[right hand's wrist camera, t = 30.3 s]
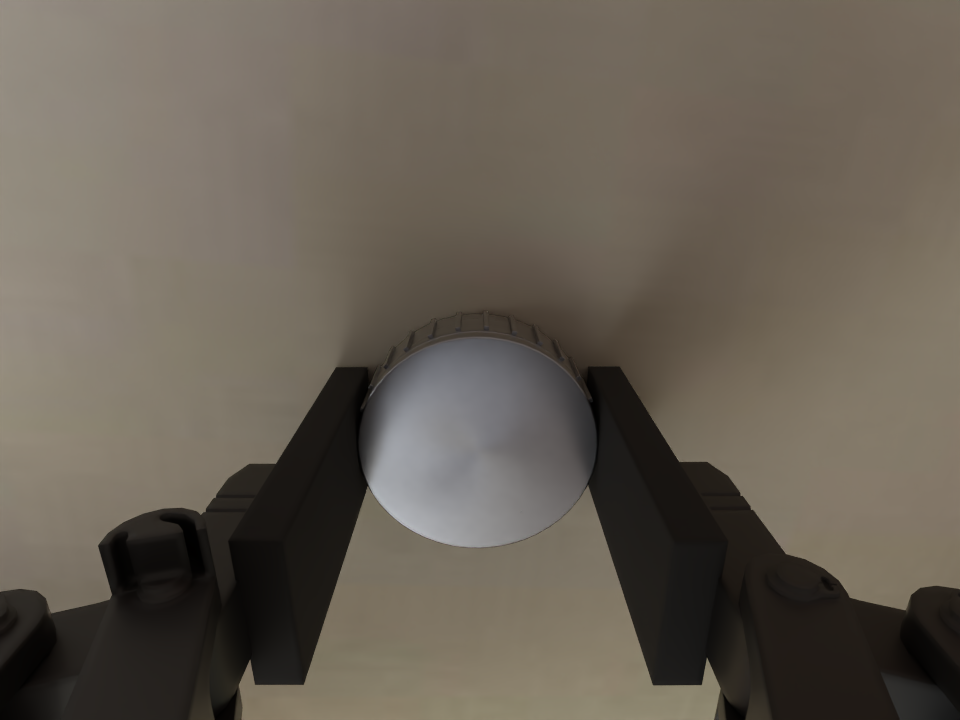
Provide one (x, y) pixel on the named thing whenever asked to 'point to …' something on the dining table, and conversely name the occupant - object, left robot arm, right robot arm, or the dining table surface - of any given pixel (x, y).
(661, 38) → the dining table surface
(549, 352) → the lid
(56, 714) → the right robot arm
